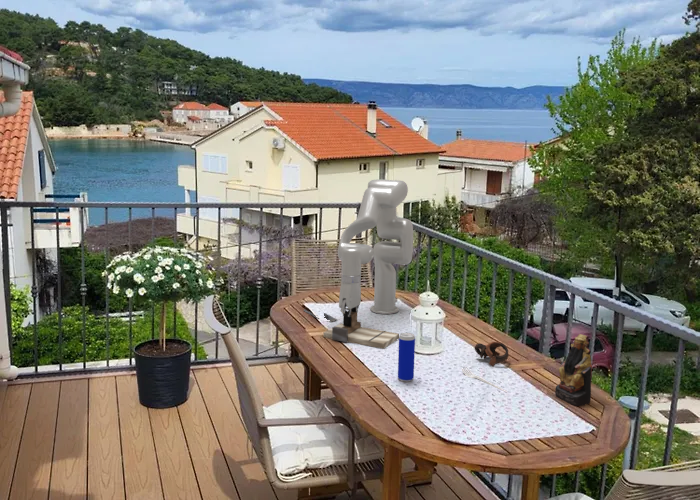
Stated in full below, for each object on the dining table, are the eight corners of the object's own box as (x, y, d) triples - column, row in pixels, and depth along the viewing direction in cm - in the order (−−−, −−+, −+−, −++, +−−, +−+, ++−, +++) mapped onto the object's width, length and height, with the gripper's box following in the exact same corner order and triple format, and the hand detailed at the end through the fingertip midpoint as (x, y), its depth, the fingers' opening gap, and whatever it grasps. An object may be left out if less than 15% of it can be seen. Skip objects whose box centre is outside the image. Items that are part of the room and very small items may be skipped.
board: (341, 328, 259) (341, 323, 259) (399, 338, 247) (399, 333, 247) (323, 337, 247) (323, 332, 247) (383, 348, 235) (383, 343, 234)
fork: (504, 396, 196) (504, 390, 196) (459, 373, 212) (460, 368, 212) (511, 393, 198) (511, 388, 197) (467, 371, 214) (467, 366, 214)
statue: (551, 394, 196) (555, 332, 193) (572, 391, 199) (577, 330, 195) (577, 410, 185) (582, 344, 181) (599, 406, 187) (604, 341, 184)
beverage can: (415, 377, 208) (416, 333, 205) (411, 383, 203) (413, 338, 200) (399, 375, 209) (401, 331, 207) (395, 380, 204) (397, 336, 202)
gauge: (350, 329, 256) (351, 308, 254) (363, 331, 253) (364, 310, 251) (332, 339, 243) (332, 317, 241) (345, 342, 240) (346, 319, 238)
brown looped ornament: (506, 359, 228) (512, 344, 222) (501, 378, 221) (508, 363, 215) (474, 347, 230) (479, 332, 225) (468, 365, 223) (473, 350, 218)
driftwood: (339, 322, 269) (339, 318, 268) (324, 324, 265) (325, 320, 265) (316, 311, 286) (316, 306, 286) (303, 313, 283) (303, 308, 282)
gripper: (352, 273, 254) (352, 317, 257) (331, 281, 240) (331, 328, 243) (369, 276, 251) (368, 320, 254) (349, 284, 236) (348, 331, 239)
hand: (350, 323), depth 248 cm, fingers closed on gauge, 4 cm apart
